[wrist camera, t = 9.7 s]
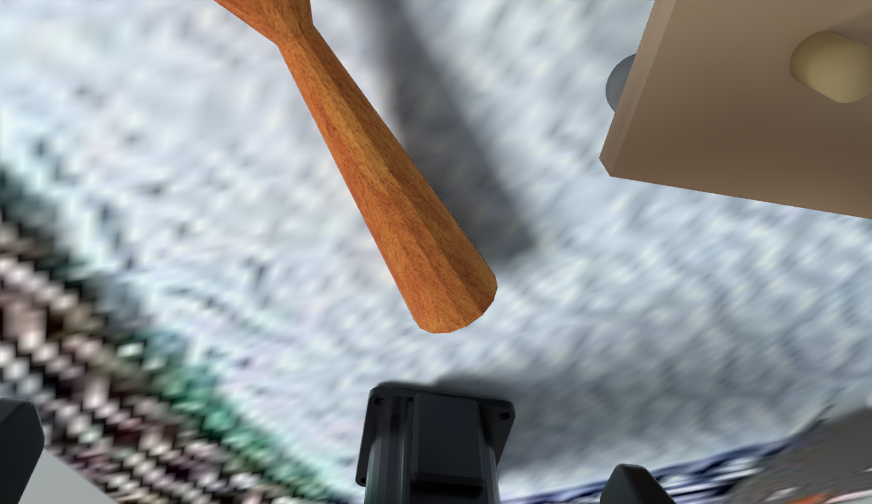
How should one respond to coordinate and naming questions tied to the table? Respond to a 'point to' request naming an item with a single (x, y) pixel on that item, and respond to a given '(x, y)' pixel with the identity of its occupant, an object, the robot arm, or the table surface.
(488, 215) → the table surface
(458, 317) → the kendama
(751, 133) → the peg board
